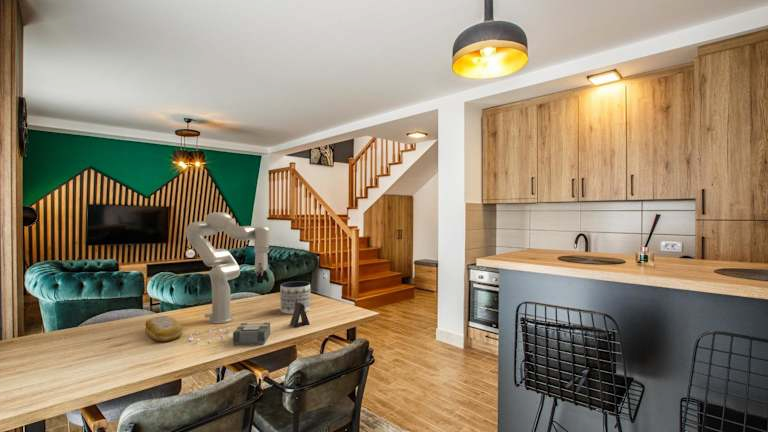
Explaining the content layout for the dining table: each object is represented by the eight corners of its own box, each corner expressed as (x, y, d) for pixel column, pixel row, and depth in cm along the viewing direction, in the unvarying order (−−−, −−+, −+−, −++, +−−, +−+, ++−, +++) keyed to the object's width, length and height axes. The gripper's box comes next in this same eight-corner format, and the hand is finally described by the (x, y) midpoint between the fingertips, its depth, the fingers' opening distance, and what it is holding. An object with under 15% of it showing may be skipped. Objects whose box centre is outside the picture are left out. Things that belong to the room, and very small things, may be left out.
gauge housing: (233, 345, 170) (233, 332, 170) (241, 335, 184) (241, 323, 184) (264, 344, 172) (264, 331, 172) (270, 334, 186) (270, 322, 185)
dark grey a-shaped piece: (294, 327, 196) (293, 305, 196) (289, 324, 201) (289, 303, 200) (309, 324, 201) (309, 302, 201) (305, 321, 206) (305, 300, 206)
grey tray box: (235, 339, 173) (234, 328, 173) (240, 333, 182) (240, 322, 182) (265, 338, 175) (265, 327, 174) (269, 332, 183) (269, 322, 183)
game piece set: (229, 329, 195) (229, 321, 195) (232, 341, 177) (231, 333, 177) (188, 334, 186) (188, 326, 186) (186, 347, 168) (186, 339, 168)
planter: (283, 306, 237) (283, 281, 237) (311, 306, 239) (311, 281, 239) (278, 315, 219) (278, 287, 219) (309, 314, 221) (308, 286, 221)
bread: (168, 326, 198) (167, 311, 198) (189, 337, 181) (188, 321, 181) (139, 333, 188) (139, 317, 187) (158, 345, 171) (158, 328, 170)
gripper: (258, 247, 206) (258, 278, 206) (250, 251, 189) (250, 284, 189) (272, 247, 207) (272, 278, 207) (265, 251, 190) (265, 284, 190)
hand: (261, 281), depth 198 cm, fingers open, 9 cm apart
